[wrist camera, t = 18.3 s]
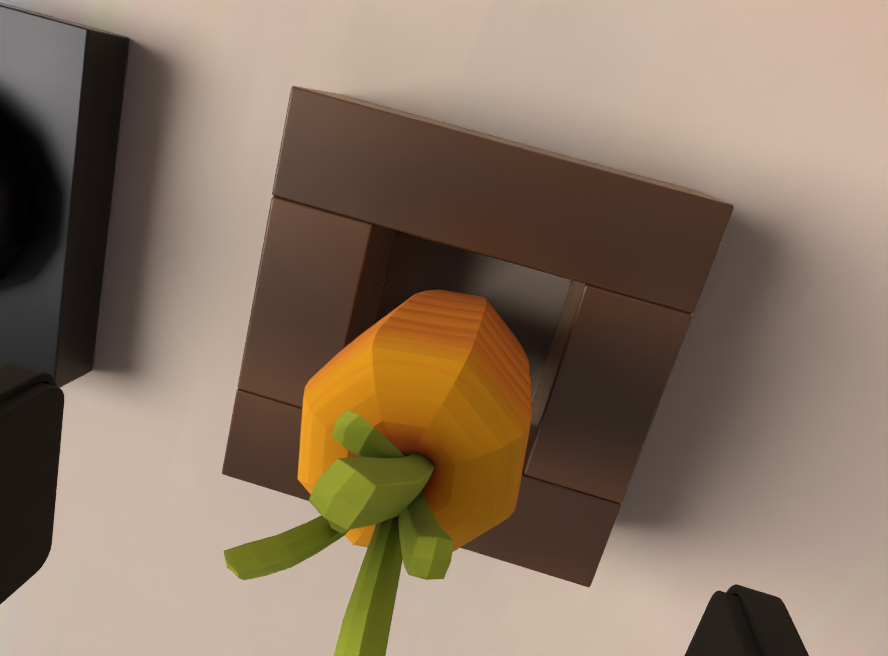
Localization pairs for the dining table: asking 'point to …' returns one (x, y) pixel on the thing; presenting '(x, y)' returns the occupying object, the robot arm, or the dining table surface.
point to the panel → (55, 186)
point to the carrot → (406, 452)
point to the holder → (498, 236)
